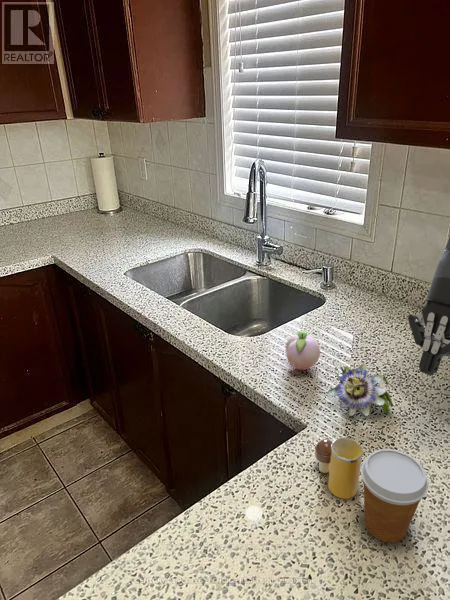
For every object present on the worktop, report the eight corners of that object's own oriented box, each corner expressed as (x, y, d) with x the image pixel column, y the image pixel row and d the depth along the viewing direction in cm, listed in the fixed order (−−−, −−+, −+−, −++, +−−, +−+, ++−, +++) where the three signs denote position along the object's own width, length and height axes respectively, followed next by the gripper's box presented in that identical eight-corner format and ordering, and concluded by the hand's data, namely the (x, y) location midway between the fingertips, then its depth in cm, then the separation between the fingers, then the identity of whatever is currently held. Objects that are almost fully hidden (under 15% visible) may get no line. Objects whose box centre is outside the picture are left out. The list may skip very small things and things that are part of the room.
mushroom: (337, 465, 83) (340, 438, 80) (331, 480, 80) (334, 452, 77) (317, 458, 85) (319, 431, 82) (311, 472, 82) (312, 445, 79)
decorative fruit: (321, 379, 107) (323, 343, 103) (286, 379, 107) (287, 343, 103) (316, 357, 115) (318, 324, 111) (284, 357, 116) (285, 323, 112)
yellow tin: (362, 483, 79) (367, 445, 75) (351, 504, 75) (356, 465, 71) (334, 471, 82) (338, 433, 78) (322, 490, 78) (325, 451, 74)
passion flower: (350, 433, 98) (319, 396, 94) (357, 397, 106) (329, 361, 102) (398, 425, 91) (367, 384, 87) (402, 386, 99) (374, 348, 95)
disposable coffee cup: (352, 496, 77) (358, 443, 71) (410, 503, 75) (421, 449, 70) (357, 548, 68) (365, 492, 63) (423, 557, 67) (437, 500, 61)
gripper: (506, 292, 75) (472, 389, 76) (435, 278, 86) (407, 364, 87) (483, 282, 71) (449, 385, 72) (412, 269, 82) (383, 359, 83)
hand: (426, 373), depth 79 cm, fingers closed
